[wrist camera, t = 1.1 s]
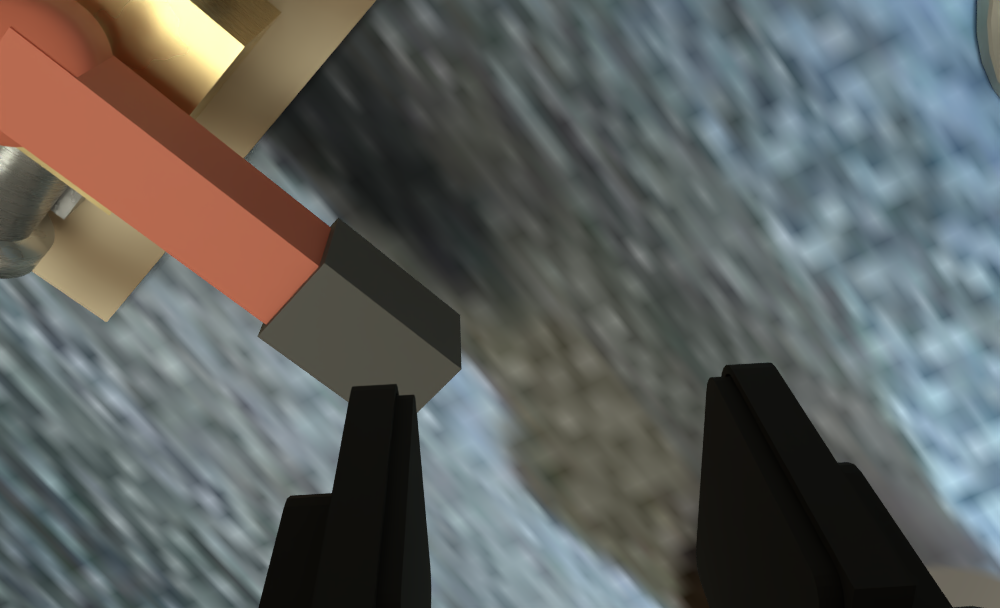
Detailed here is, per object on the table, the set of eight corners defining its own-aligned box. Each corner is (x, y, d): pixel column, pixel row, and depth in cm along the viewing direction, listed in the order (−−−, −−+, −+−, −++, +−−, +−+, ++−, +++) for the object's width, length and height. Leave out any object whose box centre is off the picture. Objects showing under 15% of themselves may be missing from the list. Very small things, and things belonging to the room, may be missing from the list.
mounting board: (184, -394, 30) (172, -406, 28) (467, -112, 34) (468, -111, 32) (-154, 117, 36) (-178, 127, 35) (118, 306, 40) (106, 322, 38)
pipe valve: (200, -287, 30) (128, -330, 24) (382, -112, 33) (365, -104, 26) (-83, 122, 35) (-210, 185, 29) (93, 247, 38) (15, 333, 31)
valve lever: (-31, 53, 27) (-109, 85, 23) (38, -46, 26) (-32, -29, 22) (394, 372, 32) (387, 441, 28) (465, 300, 31) (468, 362, 27)
